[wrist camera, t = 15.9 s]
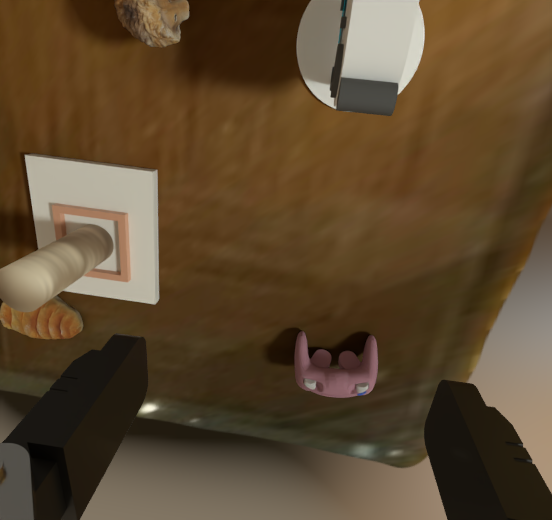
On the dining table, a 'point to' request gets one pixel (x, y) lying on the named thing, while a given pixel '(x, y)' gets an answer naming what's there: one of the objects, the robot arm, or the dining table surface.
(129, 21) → the lion figurine
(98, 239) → the maple pin
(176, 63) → the dining table surface
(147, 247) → the board
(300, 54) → the panda figurine
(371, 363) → the video game controller
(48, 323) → the pastry
